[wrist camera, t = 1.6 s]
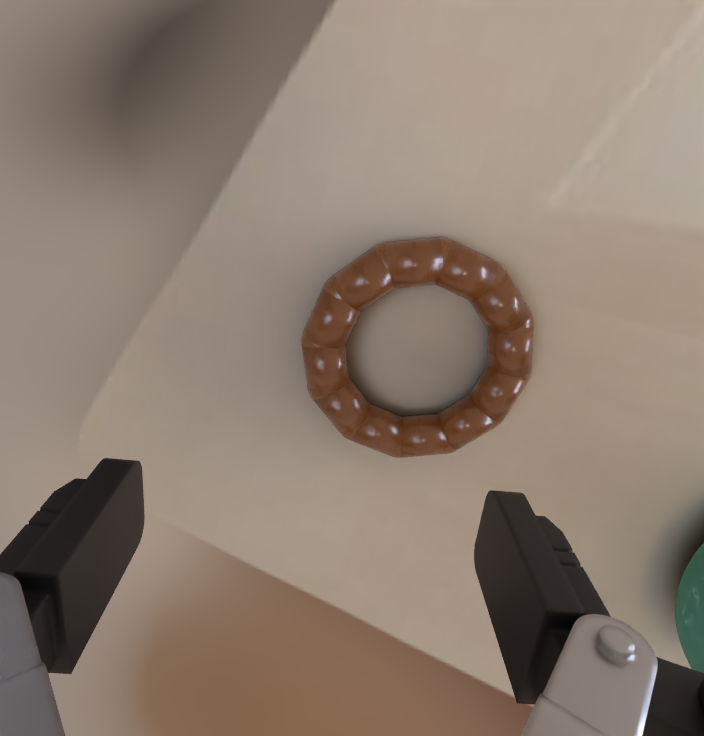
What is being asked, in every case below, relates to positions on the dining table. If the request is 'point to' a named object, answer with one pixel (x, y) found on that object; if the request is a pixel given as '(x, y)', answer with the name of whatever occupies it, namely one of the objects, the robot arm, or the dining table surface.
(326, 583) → the dining table surface
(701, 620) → the mug
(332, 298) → the ring
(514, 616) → the robot arm
